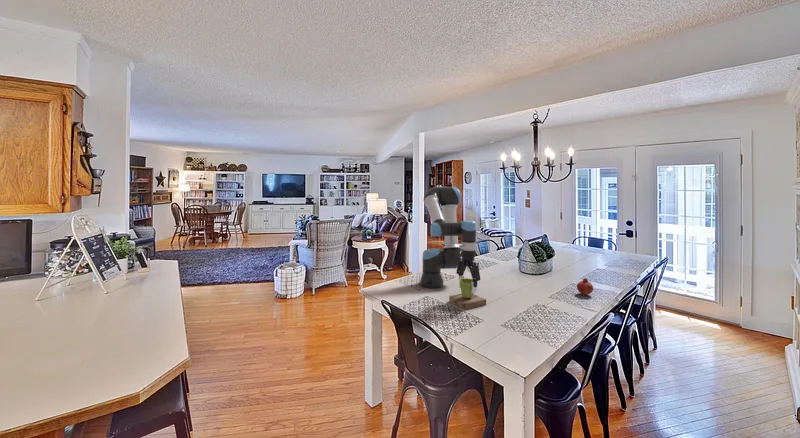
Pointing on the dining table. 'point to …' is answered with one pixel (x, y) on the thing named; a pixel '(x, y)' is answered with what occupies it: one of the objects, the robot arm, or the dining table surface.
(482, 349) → the dining table surface
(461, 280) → the plant pot
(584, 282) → the fruit
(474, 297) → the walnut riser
